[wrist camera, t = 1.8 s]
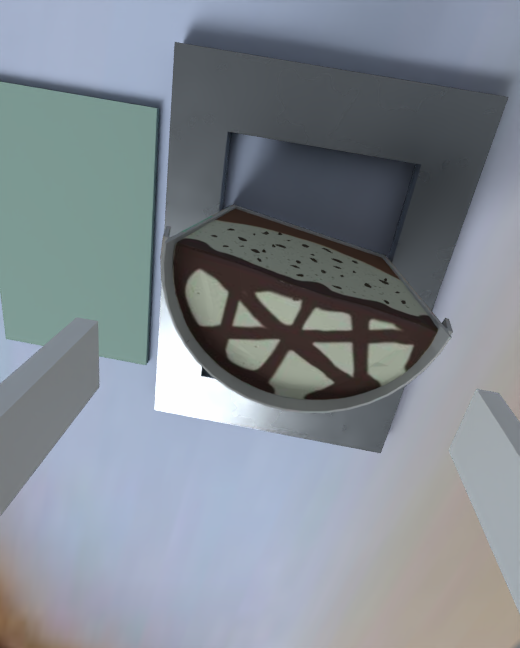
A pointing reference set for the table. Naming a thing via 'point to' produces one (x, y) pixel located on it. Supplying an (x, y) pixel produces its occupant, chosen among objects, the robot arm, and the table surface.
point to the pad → (77, 217)
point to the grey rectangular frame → (332, 133)
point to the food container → (295, 313)
